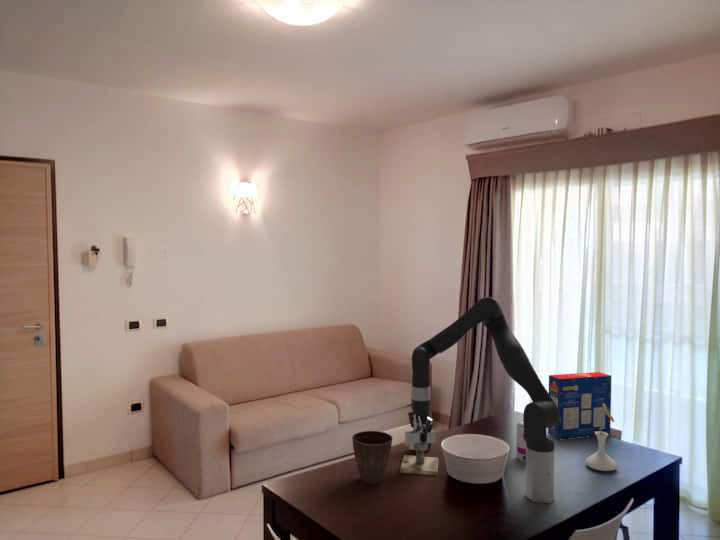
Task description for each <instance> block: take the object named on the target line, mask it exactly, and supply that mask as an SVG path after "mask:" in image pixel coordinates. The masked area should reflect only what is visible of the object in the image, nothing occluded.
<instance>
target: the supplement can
mask: <svg viewBox="0 0 720 540" xmlns="http://www.w3.org/2000/svg"><path fill="white" fill-rule="evenodd" d="M516 424H517V425H516V451H515V452H516V455H515V457H516V458H517V459H518V460H519V461H521V462H524V461H526V440H525V437H524V422H523V420H518V422H517V423H516Z"/></svg>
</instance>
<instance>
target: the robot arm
mask: <svg viewBox="0 0 720 540" xmlns="http://www.w3.org/2000/svg"><path fill="white" fill-rule="evenodd" d="M480 323H482V324H483V325H484V326H485V328H486V329H487V331H488V333H489V335H490V337H491V338H492V340H493V343H494V347H495V350H496V353H497V356H498V357H499V360H500V362H501V364H502V366H503V368H504V370H505V373H506V374H507V375H508V376H509V377H510V378H511V379H512V380H513V381H514V382H515V383H516V384H518V385H519V386H520V387H521V388H523V390H524V391H525V392H526V393H527V394H528V396H529V398H530V400H531V402H529V403H526V405H525V407H524V409H523V414H522V417H523V418H522V419H523V422H524V437H525V440H526V462H525V497H526V498H527V499H529V500H530V501H531V502H533V503H541V504H552V502H553V501H554V499H555V495H554V493H555V491H554V490H555V446H556V445H555V441H554V440H553V439H552V437H548V434H547V429H548V428H549V427H552V426H555V425H557V424H558V423H559V421H560V413H559V410H558V407H557V405H556V404H555V402H554V401H553V399H552V398H551V396H550V395H549V391H547V388H546V387H545V386H544V384H543V383H542V381H541V380H540V377H539V376H538V374H537V372H536V370H535V369H534V366H533V365H532V363H531V362H530V359H529V358H528V355H527V353H526V351H525V349H524V348H523V346H522V344H521V343H520V342H519V341H518V339H517V338H516V336H515V335H514V334H513V332H512V330H511V329H510V327H509V325H508V323H507V321H506V318H505V316H504V312H503V310H502V307H501V306H500V304H499V302H498V300H496V299H495V298H493V297H491V296H484V297H481V298H479V300H478V301H476V302H475V303H474V304H473V305H472V306H471V307H470V308H469V309H468V310H467V311H466V312H465V313H463V314H462V315H461V316H460V317H459V318H458V319H456V320H455V321H454V322H452V323H451V324H450V325H449V326H447V327H445V328H444V329H443V330H440V331H439V332H438V333H437V334H435V335H434V336H433V337H431V338H430V339H428V340H426V341H425V342H422V343H421V344H419V345H418V346H416V347H415V348H414V349H413V351H412V354H411V366H412V367H411V369H412V377H411V392H410V393H411V402H410V403H411V408H410V409H411V410H412V411H409V412H408V413H407V415H408V419H409V423H410V428H412V429H413V428H414V430H415V431H420V430H419V429H420V427H421V442H422V443H425V442H427V433H429V432H431V430H432V429H433V427H434V424H435V419H434V418H432V419H430V417H429V414H430V413H429V412H430V410H431V407H432V405H431V403H432V402H431V398H432V397H431V395H432V394H431V392H432V391H431V375H430V364H431V363H430V362H431V359H433V358H434V357H436V356H437V355H438V354H442V353H444V352H445V351H447V350H448V349H450V348H451V347H453V346H454V345H455V344H457V343H458V342H459V341H460V340H461V339H462V338H463V337H464V336H466V334H467V333H468V332H469V331H470V330H471V329H473V327H475V326H477V325H478V324H480ZM413 421H414V422H413ZM422 424H425V425H422ZM424 427H425V430H424Z"/></svg>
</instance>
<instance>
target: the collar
mask: <svg viewBox="0 0 720 540" xmlns="http://www.w3.org/2000/svg"><path fill="white" fill-rule="evenodd" d="M436 433H437V431H436V430H435V429H433V428H432V430H431V432H429V433H427V442H425V443H422V442H421V430H420V431H413V430H411V431H405V432H404V444H405V445H406V446H408V449H409V450H410V451H411V450H413V451H415V452H416V451H418V452H424V451H427V450H428V443H431V444H434V443H437V442H436V440H437V439H436V435H437V434H436ZM424 453H425V452H424Z"/></svg>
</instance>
